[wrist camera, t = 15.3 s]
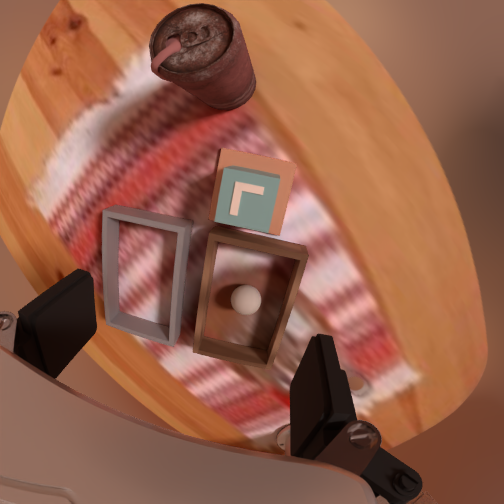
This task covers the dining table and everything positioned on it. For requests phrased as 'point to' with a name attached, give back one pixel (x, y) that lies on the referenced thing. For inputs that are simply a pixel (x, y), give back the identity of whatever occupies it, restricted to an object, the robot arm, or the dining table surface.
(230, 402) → the dining table surface
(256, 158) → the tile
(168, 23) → the can
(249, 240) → the bin walnut
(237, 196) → the letter cube
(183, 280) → the bin grey
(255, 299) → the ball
